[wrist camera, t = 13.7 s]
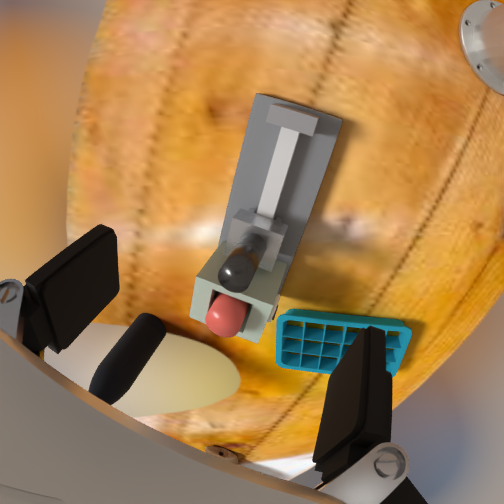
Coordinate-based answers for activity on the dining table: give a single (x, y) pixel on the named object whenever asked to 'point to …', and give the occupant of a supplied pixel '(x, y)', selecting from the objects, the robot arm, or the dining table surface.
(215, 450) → the brown boot
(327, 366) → the ice cube tray
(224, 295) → the button
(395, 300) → the dining table surface
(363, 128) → the dining table surface
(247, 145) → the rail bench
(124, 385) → the wine bottle
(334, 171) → the dining table surface
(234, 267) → the carriage
